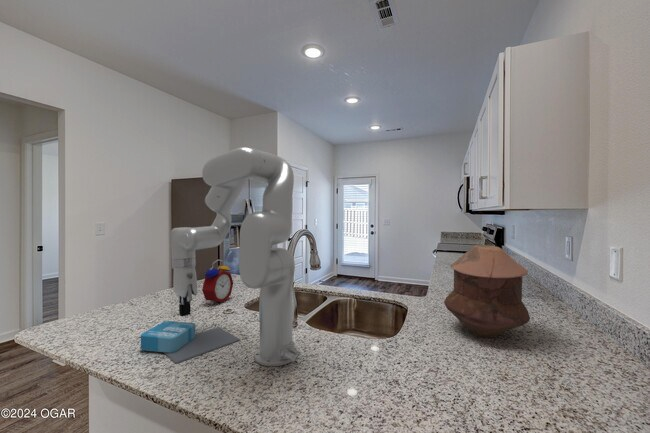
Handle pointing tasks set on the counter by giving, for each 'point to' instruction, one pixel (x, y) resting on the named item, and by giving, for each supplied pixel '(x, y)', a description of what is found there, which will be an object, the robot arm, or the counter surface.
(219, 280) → the alarm clock
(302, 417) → the counter surface
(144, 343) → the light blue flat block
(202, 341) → the rubber mat
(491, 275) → the pottery vessel
